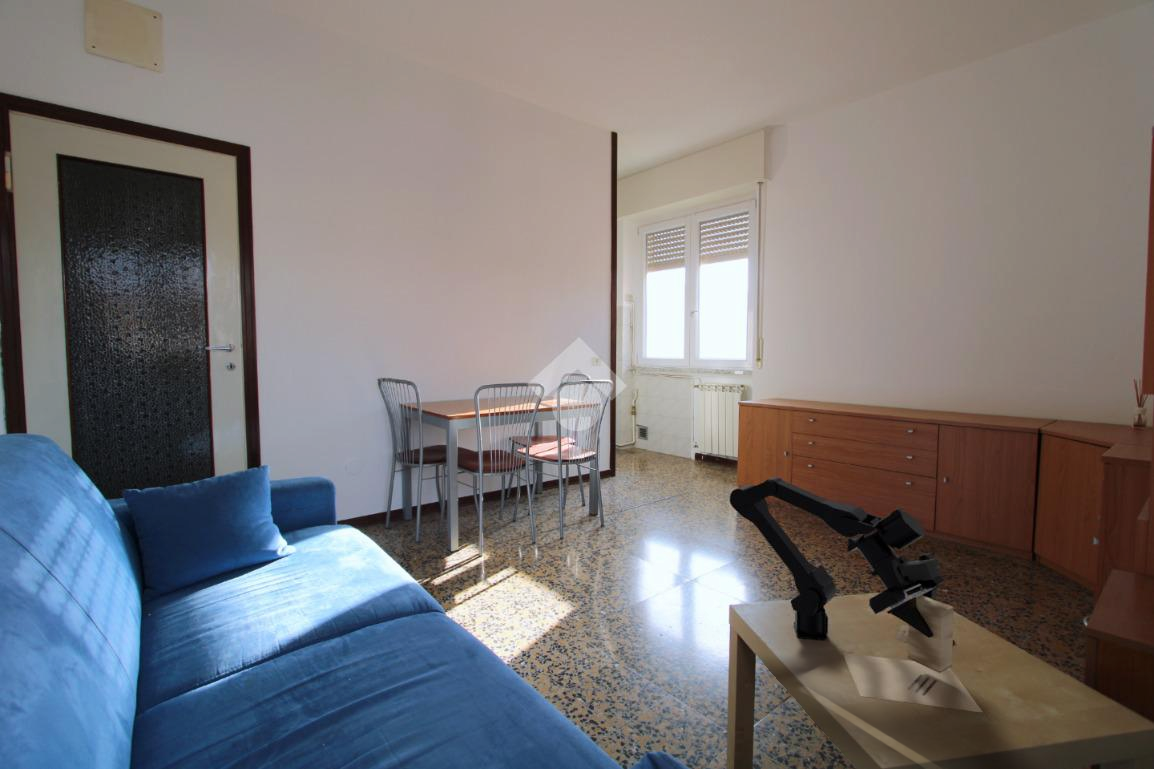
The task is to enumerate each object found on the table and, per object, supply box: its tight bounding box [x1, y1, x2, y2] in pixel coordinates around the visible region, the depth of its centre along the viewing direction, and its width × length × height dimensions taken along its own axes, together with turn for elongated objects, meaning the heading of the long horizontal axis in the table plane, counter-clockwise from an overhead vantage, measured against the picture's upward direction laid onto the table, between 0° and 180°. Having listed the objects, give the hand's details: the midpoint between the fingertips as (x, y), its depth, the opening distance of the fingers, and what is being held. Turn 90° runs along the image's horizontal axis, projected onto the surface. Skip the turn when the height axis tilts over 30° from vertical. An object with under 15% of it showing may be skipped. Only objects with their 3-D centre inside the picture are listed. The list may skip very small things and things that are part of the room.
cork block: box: [907, 595, 955, 673], centre depth 106 cm, size 6×4×12 cm
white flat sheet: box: [842, 652, 984, 713], centre depth 105 cm, size 20×15×1 cm
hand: (937, 633), depth 105 cm, fingers closed on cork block, 4 cm apart
